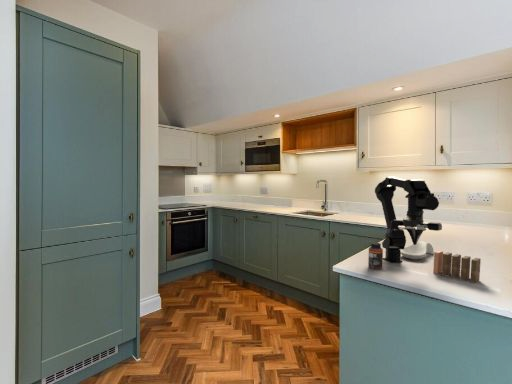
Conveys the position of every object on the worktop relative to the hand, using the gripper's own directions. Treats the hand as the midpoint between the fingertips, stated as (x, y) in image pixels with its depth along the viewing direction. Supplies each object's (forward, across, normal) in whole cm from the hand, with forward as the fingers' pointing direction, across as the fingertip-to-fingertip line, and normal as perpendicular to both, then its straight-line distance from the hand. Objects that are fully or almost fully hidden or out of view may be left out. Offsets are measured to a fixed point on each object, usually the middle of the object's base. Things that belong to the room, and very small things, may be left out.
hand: (414, 244), depth 122 cm
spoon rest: (+11, -7, +29) cm, 32 cm away
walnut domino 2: (+12, +13, +7) cm, 19 cm away
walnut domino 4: (+13, +20, +6) cm, 24 cm away
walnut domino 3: (+12, +17, +7) cm, 22 cm away
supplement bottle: (+12, -14, -7) cm, 20 cm away
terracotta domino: (+12, +7, +8) cm, 16 cm away
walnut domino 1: (+12, +10, +8) cm, 17 cm away
